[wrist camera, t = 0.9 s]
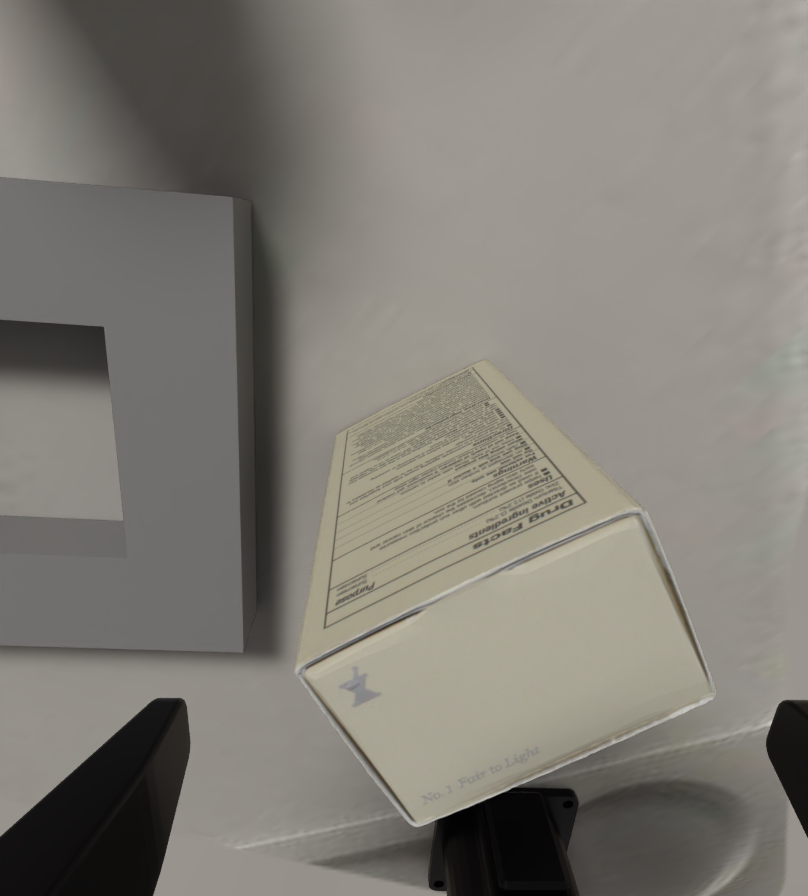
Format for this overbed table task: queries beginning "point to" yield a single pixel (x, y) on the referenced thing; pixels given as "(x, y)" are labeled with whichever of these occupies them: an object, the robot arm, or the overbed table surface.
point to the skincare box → (486, 601)
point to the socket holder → (142, 417)
